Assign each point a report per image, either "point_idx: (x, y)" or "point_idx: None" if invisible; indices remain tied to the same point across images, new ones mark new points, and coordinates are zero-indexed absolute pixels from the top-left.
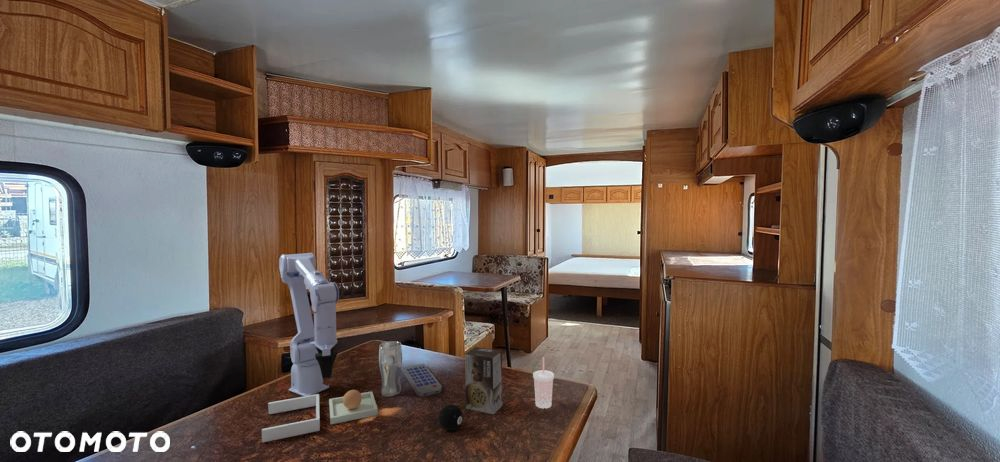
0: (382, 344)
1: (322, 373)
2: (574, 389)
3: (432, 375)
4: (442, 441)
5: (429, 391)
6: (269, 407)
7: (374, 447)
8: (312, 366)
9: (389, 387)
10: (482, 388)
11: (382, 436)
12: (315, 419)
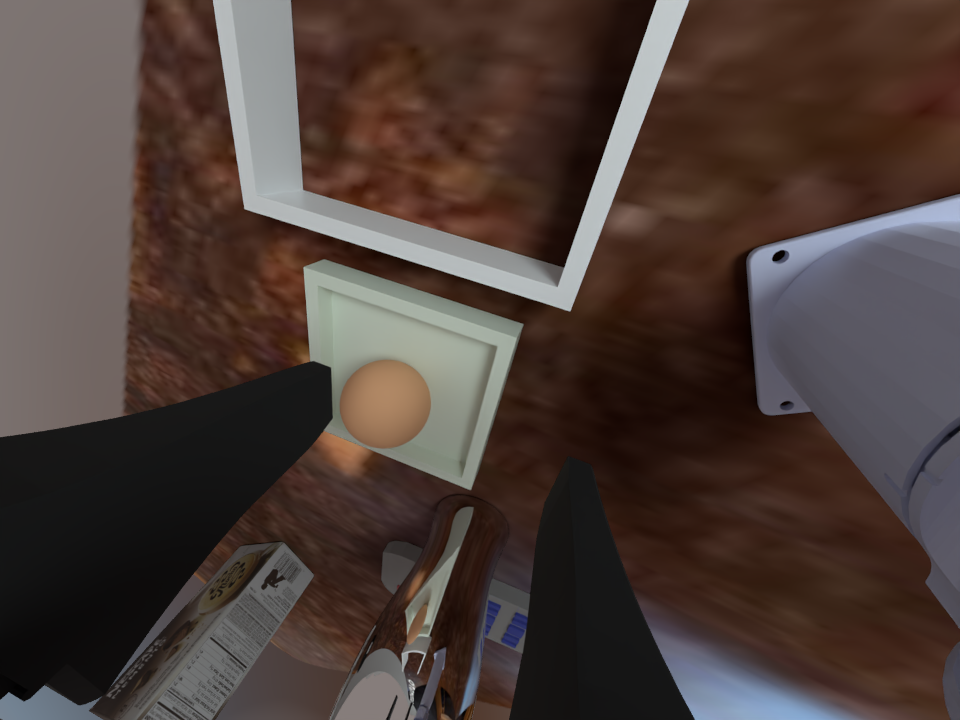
0: None
1: (261, 383)
2: (289, 646)
3: None
4: None
5: (383, 564)
6: None
7: (154, 316)
8: (917, 445)
9: (431, 532)
10: (201, 602)
11: (204, 358)
12: (245, 188)
